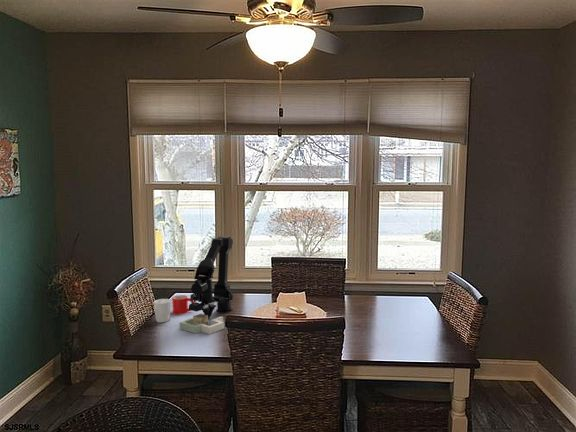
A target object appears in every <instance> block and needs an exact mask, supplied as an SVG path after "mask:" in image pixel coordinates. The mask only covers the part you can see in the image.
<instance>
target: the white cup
mask: <svg viewBox="0 0 576 432" xmlns="http://www.w3.org/2000/svg"><path fill="white" fill-rule="evenodd" d="M153 305H154V313H155V320H156V321H155V322H157V323H167V322H169V321H170V320H171V299H169V298H159V299H156V300H154V301H153Z"/></svg>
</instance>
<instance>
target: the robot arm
mask: <svg viewBox="0 0 576 432" xmlns="http://www.w3.org/2000/svg"><path fill="white" fill-rule="evenodd" d="M233 241H234V239H232V237H231V236H218V237H217V238H212V240H211V243H210V246H209V249H208V250H207V253H206V255H205V257H204V259H203V260H201V261H200V262H199V264H198V265H197V267H196V271H195V274H194V283H192V284H191V287H190V290H191V293H192V294H190V297H189V298H191V301H194V303H191V302H190V303H189V304H188V309H189V310H192V311H191V312H200V311H202V312H203V313H202V314H204V315H208V321H210V320H211V317H212V315H213V312H214V311H215V310H216V312H219V313H223V314H224V313H228V312H232V311H233V308H231V307H232V306H231V305H232V304H231V301H233V300H234V299H233V298H234V293H233V292H232V290H231V285H230V283H229V282H228V271H229V270H228V269H229V268H228V265H229V253H230V251H232V248H233V244H234V242H233ZM217 258H218V276H217V282H216V283H215V284H214V285H213V279H214V276H213V275H214V273H215V262H216V259H217ZM213 288H214V289H213ZM215 303H217V304H215ZM215 308H217V309H215Z"/></svg>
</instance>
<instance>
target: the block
mask: <svg viewBox="0 0 576 432" xmlns="http://www.w3.org/2000/svg"><path fill="white" fill-rule="evenodd" d="M192 318H193V323H194V325H195V326H196V325H198V324H201V323H202V324H205V325H208V326H209V320H208V315H204V313H198V314H195V315H193V316H192Z"/></svg>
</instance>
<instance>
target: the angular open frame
mask: <svg viewBox="0 0 576 432" xmlns="http://www.w3.org/2000/svg"><path fill="white" fill-rule="evenodd" d="M179 329H181V330H184V331H187V332H190V333H194V334H198V333H200V332H202V333H206V334H209V335H211V334H213V333H217V332H218V331H221V330H223V329H225V322H224V316H218V317H215V318H213V319H210V325H209V324H208V325H205V324H202V323H201V324H198V325H196V326H195V325H194V323H193V317H190V318H187V319H184V320H182V321H179Z"/></svg>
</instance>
